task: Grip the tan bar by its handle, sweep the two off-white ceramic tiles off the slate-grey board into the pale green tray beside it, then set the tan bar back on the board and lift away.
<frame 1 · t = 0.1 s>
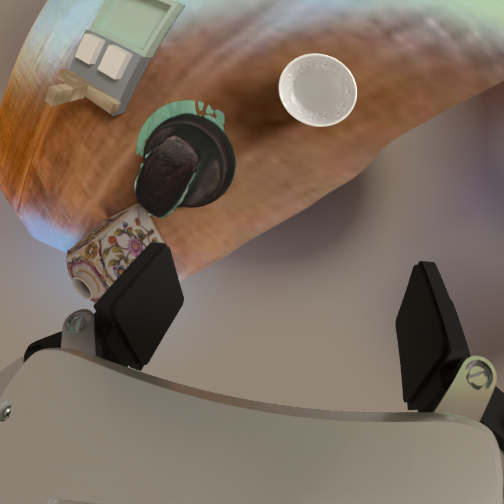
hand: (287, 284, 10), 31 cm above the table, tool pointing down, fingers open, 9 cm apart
tile 1: (92, 48, 30), point 3 cm above the table, touching board
dark round cap: (188, 160, 42), on the table
board: (109, 69, 35), on the table
tray: (136, 17, 29), on the table
tile 2: (117, 61, 31), point 3 cm above the table, touching board
white cup: (319, 90, 32), on the table
decorative jar: (138, 233, 53), on the table
tan bar: (90, 87, 34), point 3 cm above the table, touching board
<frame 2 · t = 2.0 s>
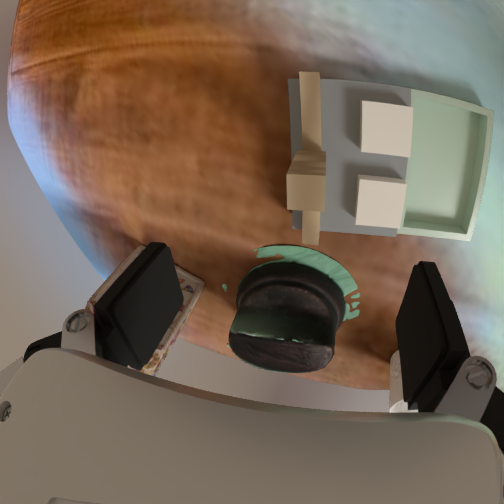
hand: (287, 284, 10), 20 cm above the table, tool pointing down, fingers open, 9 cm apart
tile 1: (384, 126, 21), point 3 cm above the table, touching board
dark round cap: (290, 303, 39), on the table
board: (348, 153, 26), on the table
tray: (441, 165, 23), on the table
tile 2: (378, 198, 24), point 3 cm above the table, touching board
white cup: (408, 355, 39), on the table
decorative jar: (165, 284, 43), on the table
tan bar: (312, 158, 24), point 3 cm above the table, touching board
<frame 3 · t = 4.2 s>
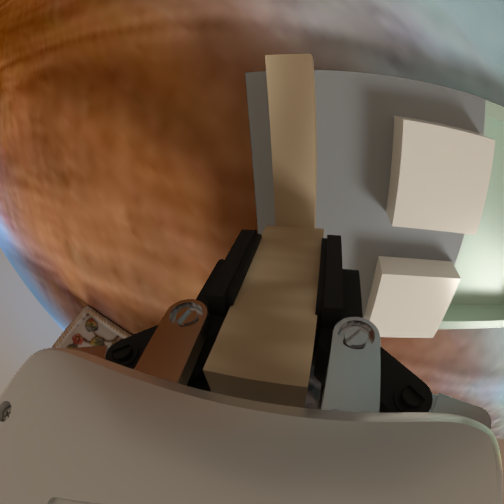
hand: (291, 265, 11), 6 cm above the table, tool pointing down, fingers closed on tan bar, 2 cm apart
tile 1: (435, 171, 10), point 3 cm above the table, touching board
dark round cap: (270, 377, 28), on the table
board: (361, 208, 15), on the table
tray: (500, 224, 13), on the table
tile 2: (407, 291, 14), point 3 cm above the table, touching board
decorative jar: (122, 347, 33), on the table
tan bar: (299, 229, 14), point 3 cm above the table, touching gripper
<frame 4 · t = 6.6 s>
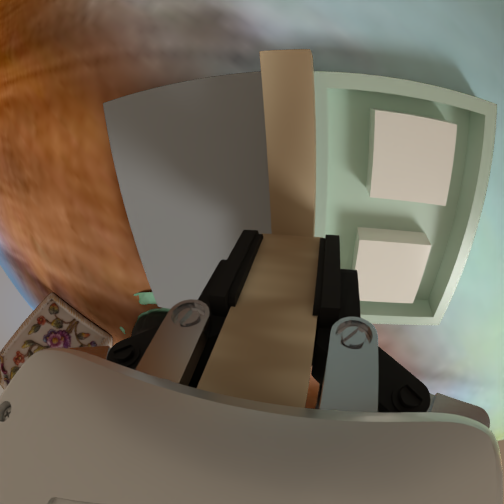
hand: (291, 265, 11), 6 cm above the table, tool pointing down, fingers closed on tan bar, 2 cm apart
tile 1: (415, 160, 11), point 2 cm above the table, tilted 180°, touching tray
dark round cap: (196, 355, 30), on the table
board: (224, 199, 17), on the table
tray: (393, 208, 15), on the table
tile 2: (389, 274, 15), point 2 cm above the table, tilted 180°, touching tray
decorative jar: (83, 331, 35), on the table
tan bar: (297, 235, 13), point 4 cm above the table, touching gripper
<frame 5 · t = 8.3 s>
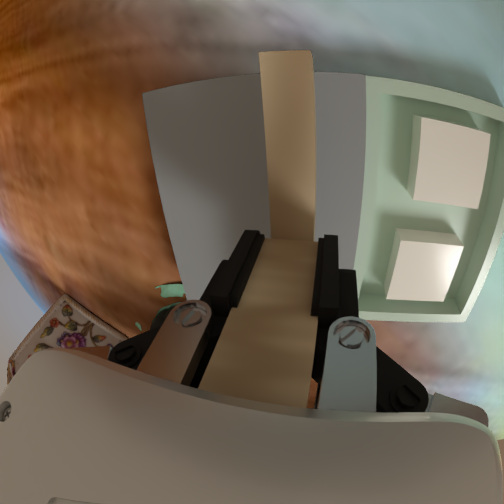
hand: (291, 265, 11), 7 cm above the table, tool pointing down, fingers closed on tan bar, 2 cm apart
tile 1: (454, 165, 11), point 2 cm above the table, tilted 180°, touching tray
dark round cap: (217, 351, 29), on the table
board: (265, 198, 17), on the table
tray: (429, 210, 15), on the table
tile 2: (425, 274, 15), point 2 cm above the table, tilted 180°, touching tray
decorative jar: (97, 333, 35), on the table
tan bar: (297, 239, 13), point 5 cm above the table, touching gripper
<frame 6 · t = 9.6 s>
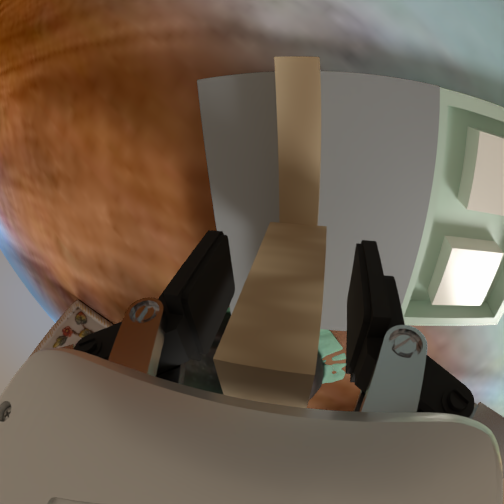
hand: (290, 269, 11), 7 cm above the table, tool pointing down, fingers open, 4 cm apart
tile 1: (503, 178, 10), point 2 cm above the table, tilted 180°, touching tray
dark round cap: (248, 359, 27), on the table
board: (321, 202, 16), on the table
tray: (473, 218, 13), on the table
tile 2: (469, 279, 14), point 2 cm above the table, tilted 180°, touching tray
decorative jar: (111, 340, 34), on the table
tan bar: (301, 226, 14), point 3 cm above the table, touching board
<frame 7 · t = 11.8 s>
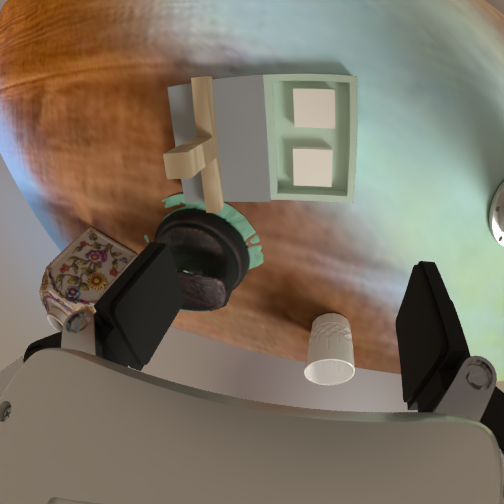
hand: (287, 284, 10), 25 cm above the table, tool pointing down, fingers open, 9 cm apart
tile 1: (314, 108, 27), point 2 cm above the table, tilted 180°, touching tray
dark round cap: (200, 250, 44), on the table
board: (225, 137, 32), on the table
tray: (312, 135, 30), on the table
tile 2: (312, 168, 30), point 2 cm above the table, tilted 180°, touching tray
white cup: (330, 324, 47), on the table
decorative jar: (111, 260, 49), on the table
tan bar: (210, 143, 30), point 3 cm above the table, touching board
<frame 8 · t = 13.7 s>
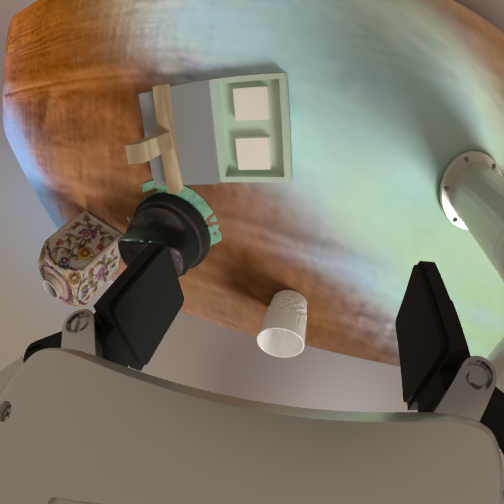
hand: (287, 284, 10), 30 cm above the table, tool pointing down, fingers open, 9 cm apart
tile 1: (250, 103, 32), point 2 cm above the table, tilted 180°, touching tray
dark round cap: (171, 229, 50), on the table
board: (186, 132, 38), on the table
tray: (254, 127, 36), on the table
tile 2: (252, 154, 36), point 2 cm above the table, tilted 180°, touching tray
white cup: (289, 302, 52), on the table
decorative jar: (102, 239, 56), on the table
tan bar: (171, 137, 36), point 3 cm above the table, touching board
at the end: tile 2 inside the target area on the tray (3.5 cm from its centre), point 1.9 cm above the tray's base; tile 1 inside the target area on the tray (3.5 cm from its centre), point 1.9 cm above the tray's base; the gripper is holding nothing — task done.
